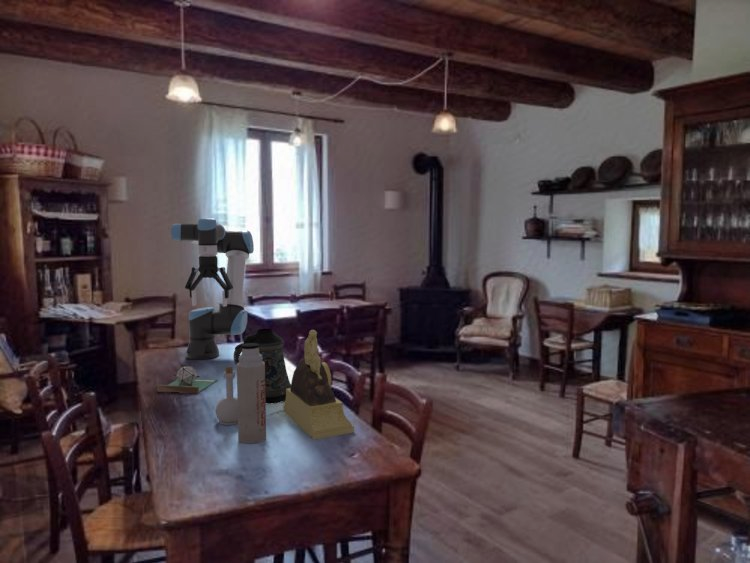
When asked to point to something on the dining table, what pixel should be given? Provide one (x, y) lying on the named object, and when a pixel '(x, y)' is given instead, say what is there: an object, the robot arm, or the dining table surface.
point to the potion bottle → (228, 401)
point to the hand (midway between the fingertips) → (209, 305)
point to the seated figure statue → (315, 397)
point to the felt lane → (198, 383)
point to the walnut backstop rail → (178, 389)
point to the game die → (186, 375)
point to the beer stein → (269, 363)
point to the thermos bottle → (251, 395)
